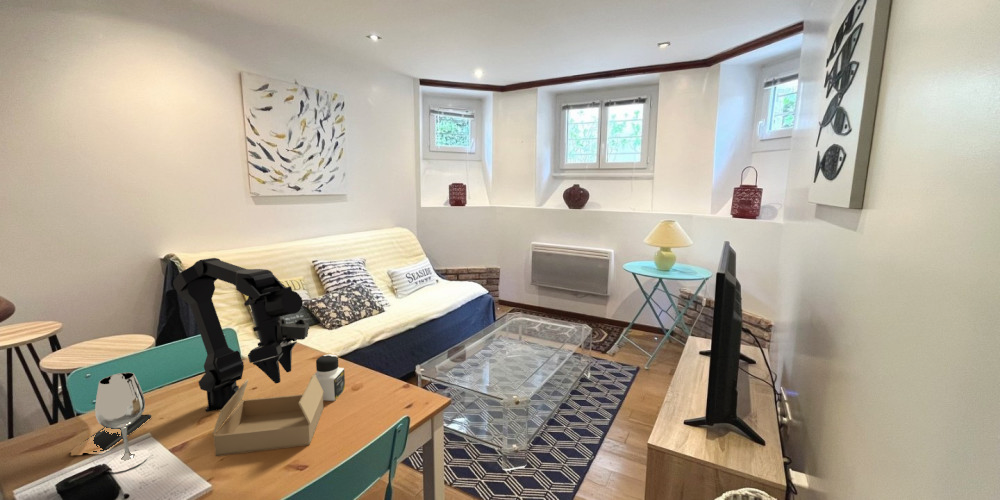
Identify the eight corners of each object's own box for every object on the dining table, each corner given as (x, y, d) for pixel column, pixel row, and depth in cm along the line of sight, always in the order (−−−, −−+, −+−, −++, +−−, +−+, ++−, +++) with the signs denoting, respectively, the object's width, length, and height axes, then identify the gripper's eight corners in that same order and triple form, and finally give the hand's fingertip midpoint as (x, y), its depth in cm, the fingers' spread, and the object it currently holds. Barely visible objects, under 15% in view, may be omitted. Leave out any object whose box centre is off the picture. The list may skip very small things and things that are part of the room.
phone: (153, 414, 104) (104, 450, 89) (154, 418, 104) (105, 455, 89) (120, 415, 103) (65, 453, 88) (121, 419, 103) (66, 457, 88)
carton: (215, 456, 89) (213, 436, 89) (243, 417, 105) (242, 399, 104) (309, 444, 94) (308, 425, 93) (323, 408, 109) (322, 392, 109)
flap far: (322, 392, 108) (323, 391, 108) (309, 424, 94) (310, 423, 94) (313, 374, 107) (314, 373, 107) (298, 403, 92) (300, 402, 92)
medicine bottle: (335, 401, 113) (333, 362, 112) (311, 400, 114) (309, 361, 112) (345, 389, 120) (343, 352, 119) (322, 388, 121) (320, 351, 119)
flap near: (214, 434, 89) (212, 434, 89) (241, 400, 103) (239, 399, 103) (222, 410, 89) (220, 410, 88) (248, 379, 103) (246, 379, 103)
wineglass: (110, 479, 82) (97, 390, 79) (98, 465, 86) (86, 380, 83) (157, 458, 88) (147, 375, 85) (144, 445, 92) (134, 366, 89)
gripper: (290, 315, 92) (307, 378, 93) (309, 305, 110) (324, 358, 111) (239, 329, 89) (257, 393, 90) (267, 316, 108) (282, 370, 108)
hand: (283, 377), depth 100 cm, fingers open, 9 cm apart
